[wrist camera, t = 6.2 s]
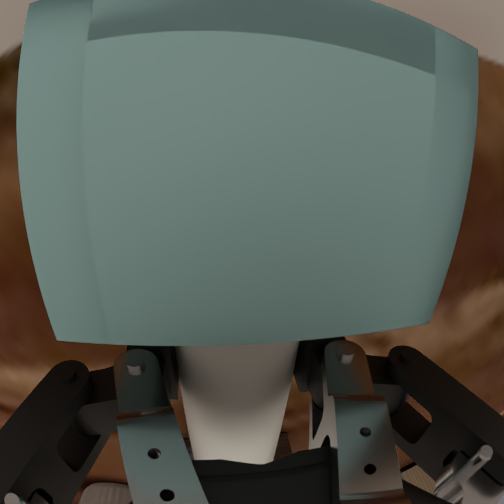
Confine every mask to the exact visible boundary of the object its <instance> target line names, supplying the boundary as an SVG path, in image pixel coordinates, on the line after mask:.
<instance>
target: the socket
mask: <svg viewBox="0 0 504 504" xmlns="http://www.w3.org/2000/svg"><path fill="white" fill-rule="evenodd" d="M477 108H478V50H477V49H476V48H474V47H473V46H471V45H469V44H467V43H466V42H464V41H462V40H460V39H458V38H457V37H455V36H453V35H451V34H449V33H447V32H445V31H443V30H441V29H439V28H437V27H435V26H433V25H431V24H429V23H427V22H425V21H422V20H420V19H418V18H416V17H413V16H411V15H409V14H406V13H403V12H401V11H399V10H396V9H393V8H391V7H388V6H385V5H383V4H380V3H376V2H374V1H370V0H39V1H36V2H33V3H30V5H29V9H28V14H27V18H26V24H25V29H24V35H23V41H22V48H21V56H20V65H19V76H18V90H17V153H18V168H19V179H20V189H21V197H22V204H23V211H24V218H25V224H26V229H27V235H28V240H29V245H30V249H31V254H32V258H33V263H34V267H35V271H36V275H37V279H38V283H39V286H40V290H41V293H42V297H43V300H44V303H45V307H46V310H47V313H48V316H49V319H50V322H51V325H52V328H53V331H54V333H55V336H56V339H57V340H59V341H70V342H83V343H97V344H115V345H142V346H216V345H243V344H262V343H277V342H291V341H303V340H313V339H323V338H333V337H341V336H350V335H358V334H365V333H373V332H380V331H386V330H393V329H399V328H405V327H411V326H417V325H422V324H428V323H429V322H430V319H431V317H432V314H433V311H434V309H435V306H436V303H437V301H438V298H439V295H440V292H441V289H442V286H443V283H444V280H445V277H446V274H447V271H448V268H449V265H450V261H451V258H452V254H453V251H454V247H455V244H456V240H457V236H458V232H459V228H460V224H461V220H462V215H463V211H464V206H465V201H466V196H467V191H468V186H469V180H470V174H471V167H472V160H473V153H474V144H475V135H476V123H477Z"/></svg>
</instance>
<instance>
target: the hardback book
mask: <svg viewBox="0 0 504 504" xmlns="http://www.w3.org/2000/svg"><path fill="white" fill-rule="evenodd" d="M401 478H402V479H403V480H405V481H407V482H409V483H411V484H413V485H415V486H417V487H419V488H421V489H423V490H425V491H427V492H429V493H431V494H433V495H434V490H435V489H436V486H435V481H434V480H433V479H432V478H431V477H430V476H429V475H428V474H427V473H425V472H424V471H423V470H422V469H421V468H420V467H419V466H418V465H416V466H414V467H412V468H410V469H408V470H407V471H405V472H403V473H401Z"/></svg>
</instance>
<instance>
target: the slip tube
mask: <svg viewBox="0 0 504 504" xmlns="http://www.w3.org/2000/svg"><path fill="white" fill-rule="evenodd" d="M298 346H299V341H291V342H277V343H262V344H243V345H216V346H175V352H176V360H177V367H178V374H179V381H180V387H181V393H182V399H183V405H184V411H185V417H186V422H187V427H188V432H189V437H190V442H191V447H192V452H193V457H194V460H216V459H223V460H229V461H236V462H243V463H251V464H266V463H269V462H272V461H273V459H274V455H275V451H276V447H277V443H278V439H279V435H280V431H281V426H282V422H283V418H284V413H285V409H286V405H287V400H288V395H289V391H290V386H291V381H292V377H293V372H294V367H295V362H296V357H297V352H298Z"/></svg>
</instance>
